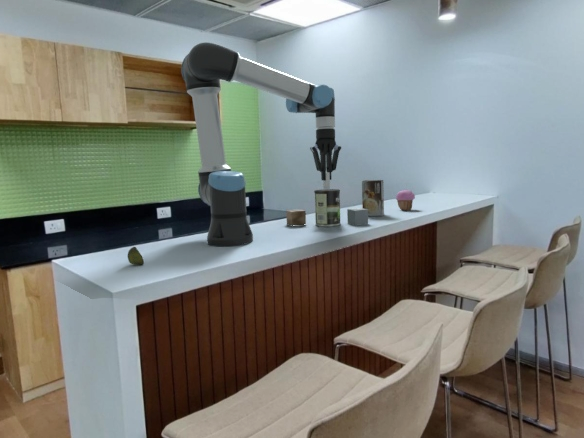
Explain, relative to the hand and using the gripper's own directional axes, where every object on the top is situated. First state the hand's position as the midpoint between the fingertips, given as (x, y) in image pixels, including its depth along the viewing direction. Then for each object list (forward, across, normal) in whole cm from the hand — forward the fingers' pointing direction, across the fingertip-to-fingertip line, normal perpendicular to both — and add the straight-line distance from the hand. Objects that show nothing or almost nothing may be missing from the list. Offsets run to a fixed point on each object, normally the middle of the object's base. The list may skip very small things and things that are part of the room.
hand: (326, 188), depth 168 cm
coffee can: (+15, 0, 0) cm, 15 cm away
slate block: (+15, -11, +5) cm, 19 cm away
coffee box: (+15, -30, -13) cm, 36 cm away
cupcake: (+15, -53, -20) cm, 59 cm away
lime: (+15, +74, +33) cm, 82 cm away
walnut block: (+15, +11, -7) cm, 20 cm away
